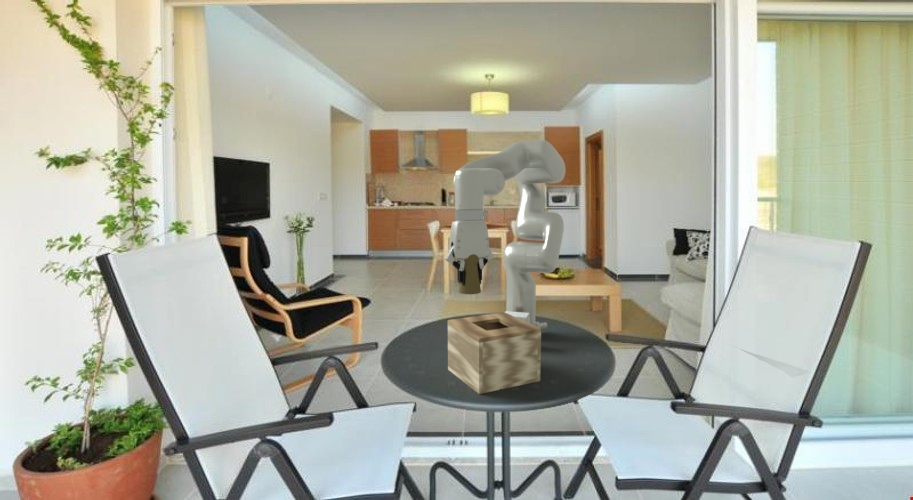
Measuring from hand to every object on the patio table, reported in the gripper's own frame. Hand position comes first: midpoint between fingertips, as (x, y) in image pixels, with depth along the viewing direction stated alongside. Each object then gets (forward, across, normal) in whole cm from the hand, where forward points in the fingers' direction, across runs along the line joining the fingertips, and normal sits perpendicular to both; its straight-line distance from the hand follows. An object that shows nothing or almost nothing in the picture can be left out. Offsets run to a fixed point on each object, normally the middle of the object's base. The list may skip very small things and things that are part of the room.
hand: (469, 283), depth 136 cm
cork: (+2, 0, 0) cm, 2 cm away
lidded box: (+24, -4, +6) cm, 25 cm away
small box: (+24, -21, -11) cm, 34 cm away
